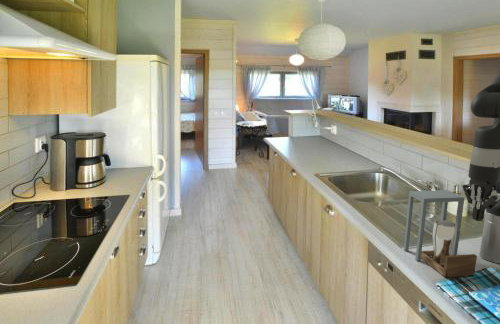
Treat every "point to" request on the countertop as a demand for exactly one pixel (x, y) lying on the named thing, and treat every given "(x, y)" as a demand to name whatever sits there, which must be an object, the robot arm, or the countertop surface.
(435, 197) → the grey four-legged stool
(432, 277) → the countertop surface
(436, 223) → the beer glass
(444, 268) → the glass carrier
